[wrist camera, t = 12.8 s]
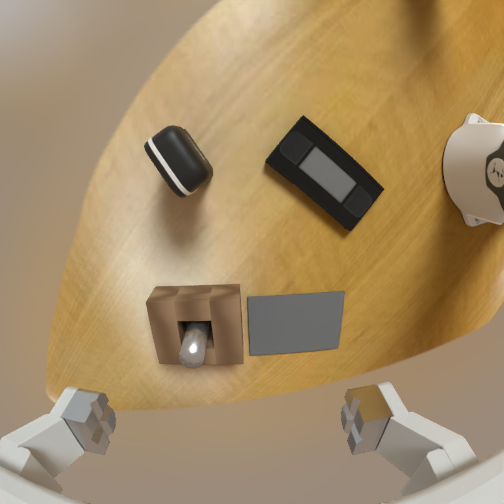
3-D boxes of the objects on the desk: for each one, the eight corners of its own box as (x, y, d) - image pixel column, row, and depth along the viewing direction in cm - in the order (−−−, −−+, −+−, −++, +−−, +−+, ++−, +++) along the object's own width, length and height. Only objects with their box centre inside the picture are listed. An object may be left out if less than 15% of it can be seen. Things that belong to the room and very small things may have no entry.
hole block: (239, 284, 41) (239, 300, 36) (243, 343, 44) (243, 363, 39) (155, 286, 41) (145, 302, 36) (166, 344, 44) (159, 363, 39)
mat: (343, 291, 42) (344, 292, 42) (337, 346, 45) (338, 348, 45) (247, 296, 42) (247, 298, 41) (250, 353, 45) (250, 355, 44)
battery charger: (222, 173, 36) (213, 178, 26) (197, 190, 37) (179, 202, 26) (191, 128, 35) (170, 116, 24) (167, 146, 35) (137, 141, 24)
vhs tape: (345, 228, 40) (350, 231, 38) (264, 161, 37) (265, 161, 35) (378, 187, 38) (384, 189, 36) (300, 117, 35) (303, 115, 33)
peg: (210, 307, 42) (202, 348, 32) (211, 325, 43) (205, 368, 33) (189, 308, 42) (176, 348, 32) (192, 325, 43) (180, 367, 33)
